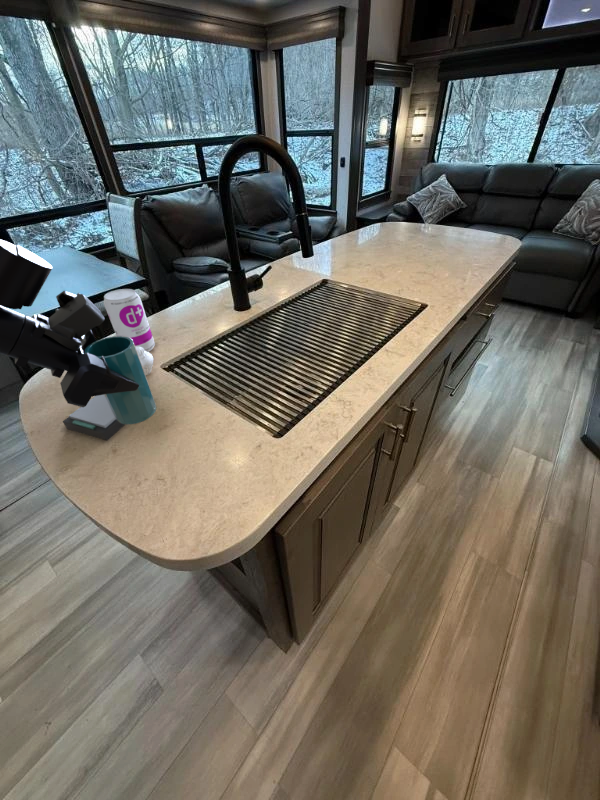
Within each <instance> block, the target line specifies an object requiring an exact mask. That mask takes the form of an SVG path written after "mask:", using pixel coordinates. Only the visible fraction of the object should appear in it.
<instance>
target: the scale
mask: <svg viewBox="0 0 600 800" xmlns="http://www.w3.org/2000/svg"><path fill="white" fill-rule="evenodd" d="M62 423H63V425H64V426H65V428H66V430H70V431H72V432H76V433H79V434H82V435H86V436H90V437H93V438H96V439H100V440H103V441H109V440H110V439H111V438H113V436H114V435H115V434H117V432H119V431H120V430H121V429H122V428H123V427H124V426H125V425H126V424H122V423H120V422H118V421H117V419H116V418H115V416H114V414H113V412H112V410H111V408H110V406H109V404H108V402H107V399H106V397H105V395H99V396H93V397H91V399H90V400H89V402H88V404H87V405H86V406H85V407H80V406H79V408H77V409H76V410H74V411H73V412H72V413H70V414H69V415H68V416H67V418H65V419H64V420H62Z"/></svg>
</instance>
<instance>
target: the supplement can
mask: <svg viewBox="0 0 600 800" xmlns="http://www.w3.org/2000/svg"><path fill="white" fill-rule="evenodd" d="M103 306H104V309H105V311H106V313H107V315H108V318H109V320H110V321H109V322H110V323H111V325H112V329H113V331H114V334H115V336H124V337H129V338H130V339H132V340H133V342H134V345H135V347H136V346H137V347H138V346H139V347H142V348H143V349H144V350H145V351H146V352H149V353H150V352H151V351H152V350H153V349H154V347H155V345H156V342H155V339H154V337H153V336H154V335H153V333H152V330H151V327H150V324H149V320H148V317H147V314H146V311H145V308H144V304H143V302H142V299H141V297H140V295H139V294H138V293H137V292H136V290H135V289H132V288H122V289H121V288H120V289H115V290H111V291H108V292H107V293H104V296H103Z"/></svg>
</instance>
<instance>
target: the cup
mask: <svg viewBox="0 0 600 800" xmlns="http://www.w3.org/2000/svg"><path fill="white" fill-rule="evenodd" d="M85 353H89V354H92V355H94V356H96V357H98V358H99V359H101V357H102V356H103V357H104V359H105V361H106V363H107V365H108V367H109V369H111V370H113V371H115V372H117V373H119V374H121V375H123V376H125V377H127V378H129V379H131V380H133V381H134V382H136V383H138V384H139V387H138V389H137V390H136V391H128V392H119V393H111V394H104V395H105V397H106V399H107V402H108V404H109V406H110V408H111V410H112V412H113V414H114V416H115V418H116V419H117V421H118V422H120V423H122V424H125V425H136V424H140V423H142V422H145V421H147V420H148V419H150V418H151V417H153V416H154V415H155V413H156V412H157V403H156V401H155V397H154V395H153V391H152V390H151V387H150V384H149V381H148V377H147V375H145V372H144V370H143V367H142V364H141V361H140V359H139V356H138V353H137V350H136V348H135V345H134V342H133V340H132V339H130V338H129V337H124V336H116V335H114V336H108V337H104V338H101V339H98V340H96V341H95V342H93V343H92V344H90V345H89V346H88V347H87V348H86V349H85Z"/></svg>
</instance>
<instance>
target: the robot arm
mask: <svg viewBox="0 0 600 800" xmlns="http://www.w3.org/2000/svg"><path fill="white" fill-rule="evenodd" d="M53 268H54V267H53V266H52V265H51V264H50V263H49V262H48V261H46V260H45V259H44V258H42V257H40V256H38V255H37V254H36V253H34V252H32V251H30V250H28V249H26V248H24V247H22V246H21V245H19V244H13V243H11V242H9V241H7V240H3V239H1V238H0V355H3V356H6V357H9V358H13V359H14V365H16V366H19V367H23V368H25V367H26V366H27V364H28V363H29V364H31V365H34V366H38V367H41V368H44V369H47V370H50V373H51V376H52V377H56V378H59V379H61V377H62V376H63V374H64V373H65V374H64V376H63V378H62V380H61V381H60V383H59V384H60V387H61V392H62V396H63V398H64V399H65V401H66V402H67V404H69V405H72V406H76V407H79V408H80V407H85V406H86V405H87V404H88V402H89V401H90V400H91V399H92V398H94V397H95V396H99V395H104V394H111V393H119V392H128V391H136V390H137V389H138V387H139V384H138V383H136V382H134V381H133V380H131V379H129V378H127V377H125V376H123V375H121V374H119V373H117V372H115V371H113V370H111V369H109V367H108V365H107V363H106V361H105V359H104V357H103V356H102V357H101V359H99V358H98V357H96V356H94V355H92V354H89V353H85V349H86V348H87V347H88V346H89V345H90V344H92V343H93V342H95V341H97V339H96V337H95V335H94V333H93V331H92V329H94V328H95V327H99V326H101V325H102V324H103V323H104V321H105V315H103V313H102V310H100V308H98V307H97V305H95V304H94V303H93V302H92V301H91V300H90V299H89V298H88V296H86V295H84V294H83V293H80V292H77V293H76V294H75V293H72V292H69V291H67V290H62V291H61V292H60V293H59V294H57V295H56V296H55V298H56V301H57V303H58V305H59V308H56V309H55V310H54V311H55V312H54V313H53V314H52V315H50V316H49V317H47V316H45V315H43V314H40V313H38V314H35V313H34V314H33V315H32V316H31V317H30V316H28V315H25V314H23V313H21V312H17V311H16V310H22V308H23V307H26V308H27V307H28V308H29V307H32V306H33V304H34V302H35V300H36V298H38V295H39V293H40V291H41V290H42V289H43V286H44V284H46V283H45V282H46V281H47V279H48V277H49V275H50V274H51V272H52V270H53ZM65 371H66V372H65Z"/></svg>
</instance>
